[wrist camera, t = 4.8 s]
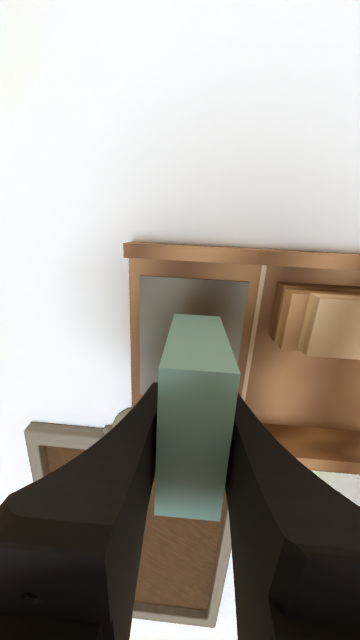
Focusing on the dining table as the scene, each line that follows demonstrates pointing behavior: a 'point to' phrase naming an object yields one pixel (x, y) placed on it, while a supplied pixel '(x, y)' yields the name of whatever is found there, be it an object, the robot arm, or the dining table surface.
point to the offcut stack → (317, 319)
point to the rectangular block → (194, 418)
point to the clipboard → (153, 538)
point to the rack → (252, 339)
